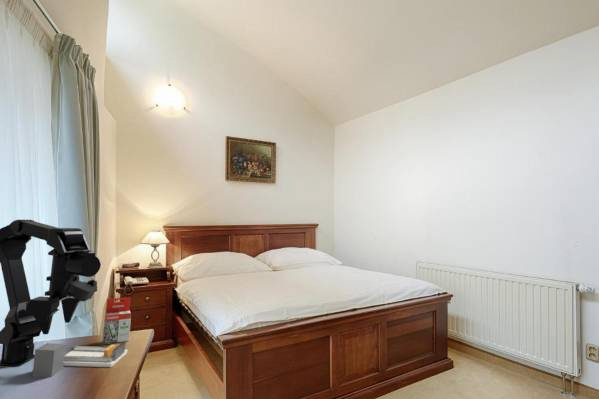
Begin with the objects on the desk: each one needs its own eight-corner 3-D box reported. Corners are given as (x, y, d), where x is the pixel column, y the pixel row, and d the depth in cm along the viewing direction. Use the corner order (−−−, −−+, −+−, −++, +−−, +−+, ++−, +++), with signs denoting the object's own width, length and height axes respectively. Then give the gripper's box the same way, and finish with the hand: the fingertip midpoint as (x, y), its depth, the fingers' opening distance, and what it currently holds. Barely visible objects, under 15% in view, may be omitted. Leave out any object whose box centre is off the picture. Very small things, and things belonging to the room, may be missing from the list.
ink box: (129, 341, 113) (132, 299, 114) (102, 345, 109) (106, 301, 110) (128, 337, 116) (131, 296, 117) (102, 341, 112) (106, 298, 113)
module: (32, 376, 87) (35, 349, 87) (44, 368, 91) (47, 343, 92) (51, 376, 87) (54, 350, 87) (62, 368, 92) (65, 343, 92)
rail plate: (54, 365, 93) (55, 351, 93) (76, 351, 103) (77, 338, 103) (111, 367, 94) (112, 353, 94) (127, 352, 104) (128, 340, 104)
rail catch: (103, 358, 97) (104, 350, 97) (111, 352, 101) (111, 344, 101) (107, 358, 97) (108, 350, 97) (114, 352, 101) (115, 344, 101)
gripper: (73, 280, 83) (66, 342, 82) (109, 268, 101) (104, 318, 100) (27, 278, 82) (19, 340, 81) (72, 266, 100) (66, 316, 99)
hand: (57, 328), depth 90 cm, fingers open, 9 cm apart
